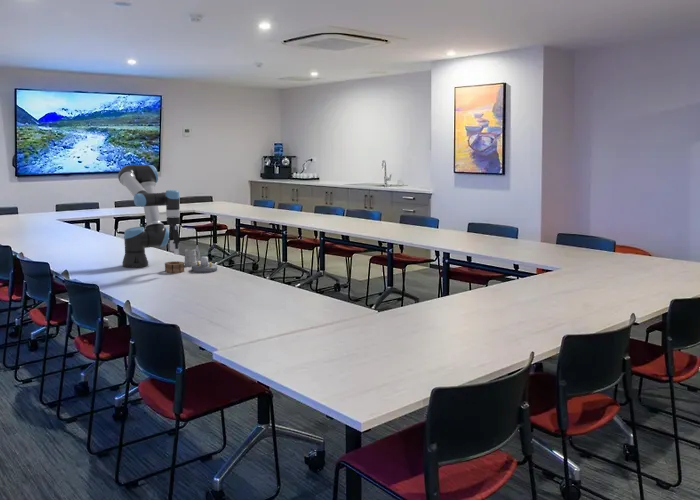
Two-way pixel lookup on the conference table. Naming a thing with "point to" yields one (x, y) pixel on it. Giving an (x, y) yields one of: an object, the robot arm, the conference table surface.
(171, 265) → the collar
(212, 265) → the flange base
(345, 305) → the conference table surface
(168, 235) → the robot arm
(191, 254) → the mug
